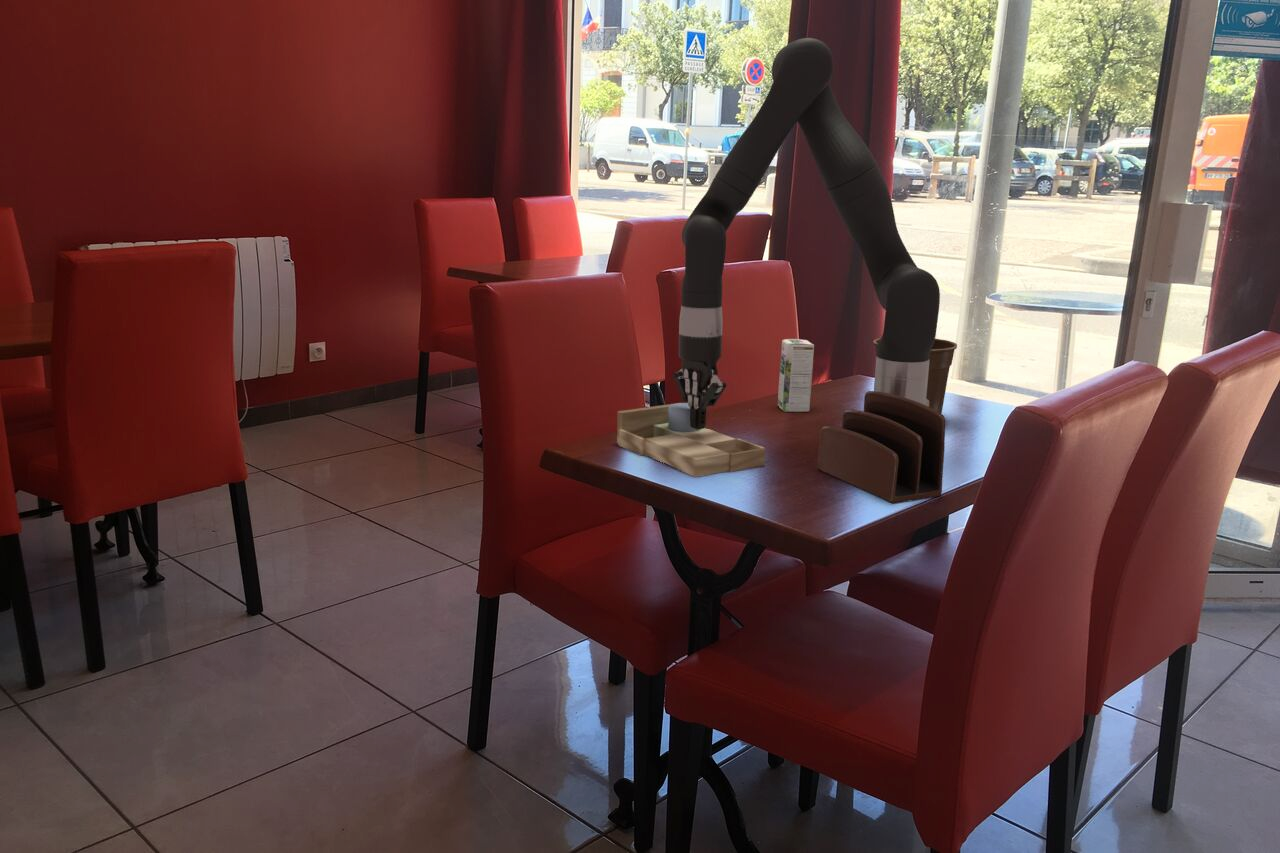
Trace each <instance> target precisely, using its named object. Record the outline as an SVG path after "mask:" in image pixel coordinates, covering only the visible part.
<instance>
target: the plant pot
mask: <svg viewBox="0 0 1280 853" xmlns="http://www.w3.org/2000/svg"><path fill="white" fill-rule="evenodd" d="M880 339H881V337H879V338H876V339H874V340H873V342H872V343H873V345H874V346H875V357H876V356H877V355H876V354H877V344H878V341H879V340H880ZM957 348H958V344H957V343H956V342H955V341H950V340H947V339H941V338H936V337H935V341H934V344H933V346H932V349H931V352H930V359H929V371H928V383H927V394H926V399H928V400H929V407H930V408H932V409H934V410H936V411H937V412H939V413H941V414H942V415H943V408H944V402H945V397H946V396H945V395H946V392H947V391H946V390H947V384H948V380H949V379H948V377H949V373H950V367H951V366H952V364H953V360H954V355H955V350H957Z"/></svg>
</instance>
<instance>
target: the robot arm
mask: <svg viewBox="0 0 1280 853" xmlns="http://www.w3.org/2000/svg"><path fill="white" fill-rule="evenodd" d="M834 61H835V60H834V56H833V54H832V52H831V49H830V48H829V47H828V45H827V44H826V43H825V42H823V41H821V40H819V39H818V38H817V39H816V38H813V37H805V38H799V39H796V40H793V41H792V42H789V43H788V44H787V45H785V46H784V47H782V48H781V49H780V50H779V51H778V52H777V53H776V55H775V57H774V59H773V62H772V66H771V78H772V84H771V87H770V89H769V91H768V93H767V95H766V97H765V99H764V101H763V103H762V105H761V106H760V108H759V109H758V111H757V113H756V114H755V116H754V118H753V119H752V120H751V122H750V123H749V125H748V126H747V127H746V129H745V130H744V132H743V133H742V134H741V136H740V137H739V138H738V139H737V141H736V143H735V144H734V145H733V146H732V148H731V150H730V151H729V153H728V154H727V156H726V157H725V159H724V160H723V162H722V164H721V166H720V167H719V168H718V171H717V173H716V174H715V176H714V178H713V179H712V181H711V184H710V186H709V188H708V189H707V191H706V193H705V194H704V195H703V197H702V198H701V199H700V201H699V202H698V204H697V205H696V207H695V208H694V210H692V212H691V214H690V215H689V216H688V218H687V220H686V222H685V223H684V224H683V225H684V226H683V228H682V230H681V231H682V232H681V240H682V244H683V245H684V248H685V249H684V250H685V251H684V252H685V254H684V255H685V256H684V262H685V265H684V275H683V276H682V282H681V303H680V304H681V306H680V314H679V322H678V323H679V325H678V328H679V330H678V331H679V332H678V357H679V358H680V359H681V360H682V362H681V369H679V371H674V372H673V373H672V376H673V377H672V378H673V379H674V382H675V385H676V387H677V389H678V392H679V394H680V397H681V400H682V403H688V406H689V407H690V426H691V428H694V429H703V428H706V423H707V409H708V408H710V407H714V406H716V403H717V402H718V400H719V399H720V398H721V396H722V394H723V392H724V391H725V390H726V387H727V383H726V381H721V380H720V378H719V377H718V376H719V374H718V373H719V371H718V366H717V362H718V361H719V360H720V359H722V347H723V320H724V319H723V310H722V308H723V274H724V273H723V272H724V266H725V259H726V252H727V231H728V229H729V228H730V226H731V225H732V223H733V221H734V219H735V218H736V217H737V215H738V213H740V212H741V211H742V210H743V209H745V207H746V206H747V205H748V203H749V201H750V200H751V198H752V196H753V194H754V193H755V192H756V190H757V188H758V186H759V184H760V183H761V181H762V179H763V177H764V176H765V174H766V172H767V171H768V169H769V167H770V166H771V164H772V161H773V160H774V158H775V157H776V155H777V153H778V152H779V151H780V150H779V149H780V148H781V146H782V145H783V143H784V141H785V140H786V138H787V137H788V135H789V133H790V132H791V131H792V129H793V127H794V126H795V125H796V123H797V124H798V126H799V128H800V129H801V131H802V133H803V135H804V138H805V140H806V142H807V145H808V148H809V150H810V153H811V155H812V158H813V161H814V164H816V167H817V170H818V172H819V175H820V177H821V179H822V181H823V184H824V186H825V188H826V189H827V190H826V191H827V192H828V195H829V197H830V199H831V201H832V203H833V205H834V207H835V209H836V211H837V214H838V215H839V217H840V219H841V220H842V222H843V224H844V225H845V228H846V230H847V231H848V233H849V235H850V236H851V238H852V240H853V241H854V243H855V244H856V246H857V248H858V250H859V252H860V254H861V256H862V259H863V261H864V263H865V267H866V269H867V272H868V274H869V277H870V280H871V282H872V285H873V288H874V292H875V295H876V297H877V300H878V303H879V304H880V306H881V307H882V309H883V310H884V311H885V313H884V314H885V315H884V322H883V324H884V325H883V331H882V335H881V337H880V338H881V339H880V340H879V341H878V344H877V354H876V353H875V369H874V371H875V372H874V381H873V383H874V385H873V391H876V392H884V393H889V394H893V395H898V396H901V397H905V398H908V399H911V400H914V401H916V402H919V403H921V404H924V405H926V406H928V407H929V400H928V399H926V394H927V383H928V371H929V359H930V352H931V349H932V346H933V344H934V341H935V338H936V336H937V328H938V320H939V313H940V311H939V310H940V305H941V304H940V303H941V300H940V298H941V292H940V287H939V283H938V280H936V278H935V277H934V275H932V274H931V272H929V271H926V270H925V269H923V268H920V267H918V266H917V265H916V262H915V261H914V260H913V257H911V255H910V253H909V252H908V250H907V247H906V246H905V243H903V240H902V238H901V236H900V232H899V230H898V228H897V222H896V216H895V213H894V212H895V211H894V206H893V203H892V198H891V193H890V191H889V188H888V186H887V183H886V180H885V178H884V176H883V174H882V172H881V170H880V167H879V164H878V163H877V161H876V159H875V158H874V155H873V153H872V152H871V150H870V149H869V147H868V146H867V145H866V143H865V142H864V140H863V139H862V137H861V136H860V135H859V134H858V133H857V131H856V130H855V129H854V127H853V126H852V125H851V124H850V122H849V121H848V120H847V118H846V117H845V115H844V114H843V112H842V110H841V108H840V106H839V104H838V101H837V99H836V96H835V94H834V91H833V88H832V86H831V83H830V81H831V79H832V77H833V74H834V68H835V62H834ZM876 355H877V356H876Z"/></svg>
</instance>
